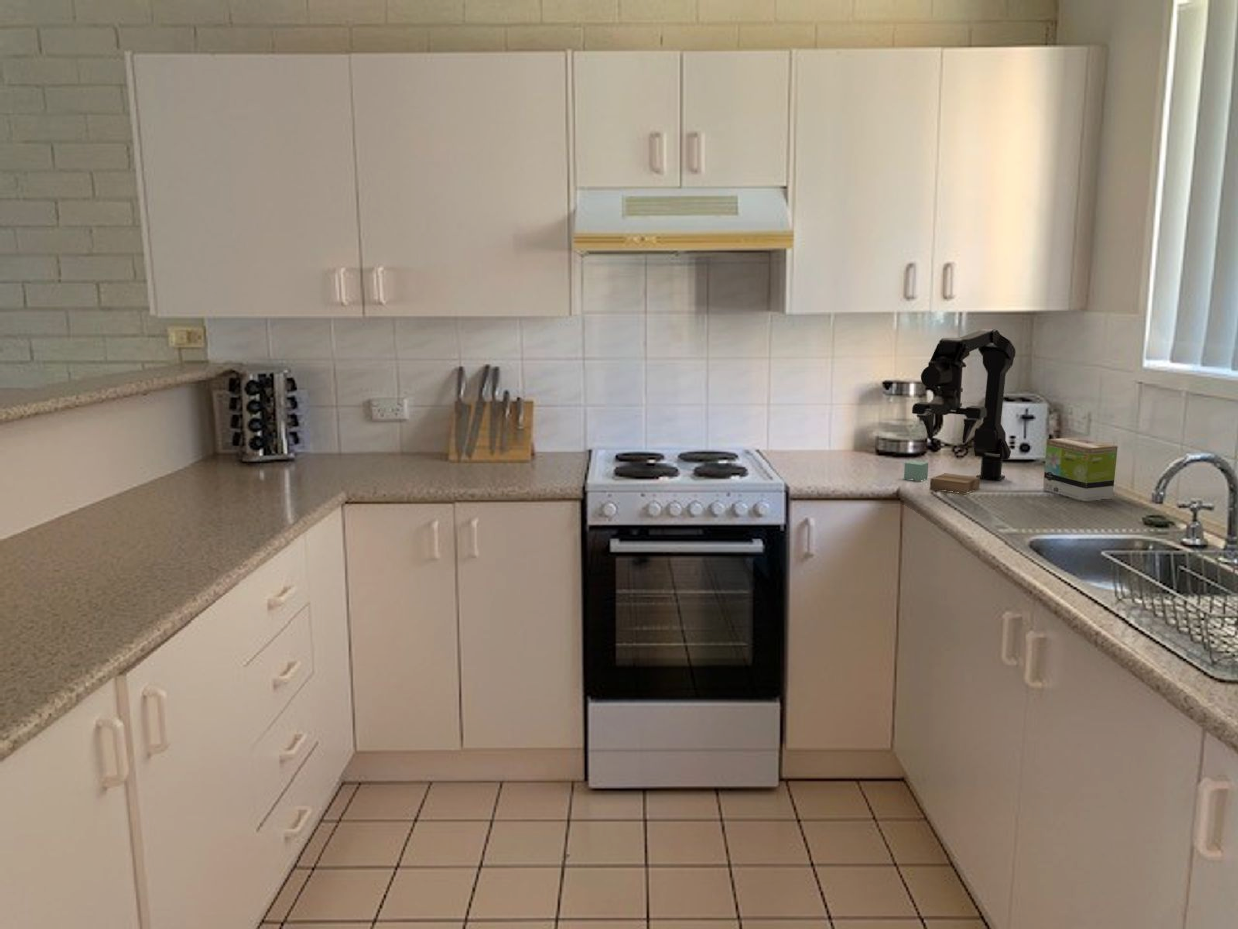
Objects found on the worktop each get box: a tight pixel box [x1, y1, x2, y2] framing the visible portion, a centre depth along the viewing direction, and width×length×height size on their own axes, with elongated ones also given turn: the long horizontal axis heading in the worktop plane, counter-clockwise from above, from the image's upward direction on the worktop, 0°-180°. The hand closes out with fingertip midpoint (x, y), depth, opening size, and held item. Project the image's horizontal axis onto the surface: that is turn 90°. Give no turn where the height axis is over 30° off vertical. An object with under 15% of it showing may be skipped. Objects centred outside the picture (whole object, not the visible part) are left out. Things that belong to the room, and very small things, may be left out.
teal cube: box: [903, 460, 929, 482], centre depth 271 cm, size 5×5×5 cm
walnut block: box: [929, 472, 981, 494], centre depth 257 cm, size 10×10×4 cm
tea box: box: [1042, 436, 1119, 502], centre depth 248 cm, size 15×10×15 cm, turn 19°
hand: (947, 441), depth 254 cm, fingers open, 9 cm apart
